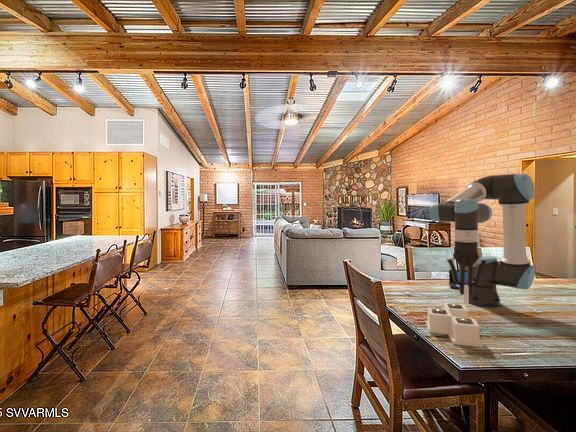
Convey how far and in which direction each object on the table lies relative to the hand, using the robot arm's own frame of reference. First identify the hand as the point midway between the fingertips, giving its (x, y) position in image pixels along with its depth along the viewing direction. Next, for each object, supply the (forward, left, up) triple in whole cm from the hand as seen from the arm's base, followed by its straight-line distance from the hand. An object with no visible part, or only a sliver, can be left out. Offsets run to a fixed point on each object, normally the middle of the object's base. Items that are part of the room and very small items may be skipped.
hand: (465, 302), depth 119 cm
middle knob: (+8, -8, -12) cm, 17 cm away
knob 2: (0, 0, -12) cm, 12 cm away
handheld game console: (-16, -80, -15) cm, 83 cm away
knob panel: (+4, -8, -14) cm, 17 cm away
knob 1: (0, -17, -12) cm, 21 cm away
